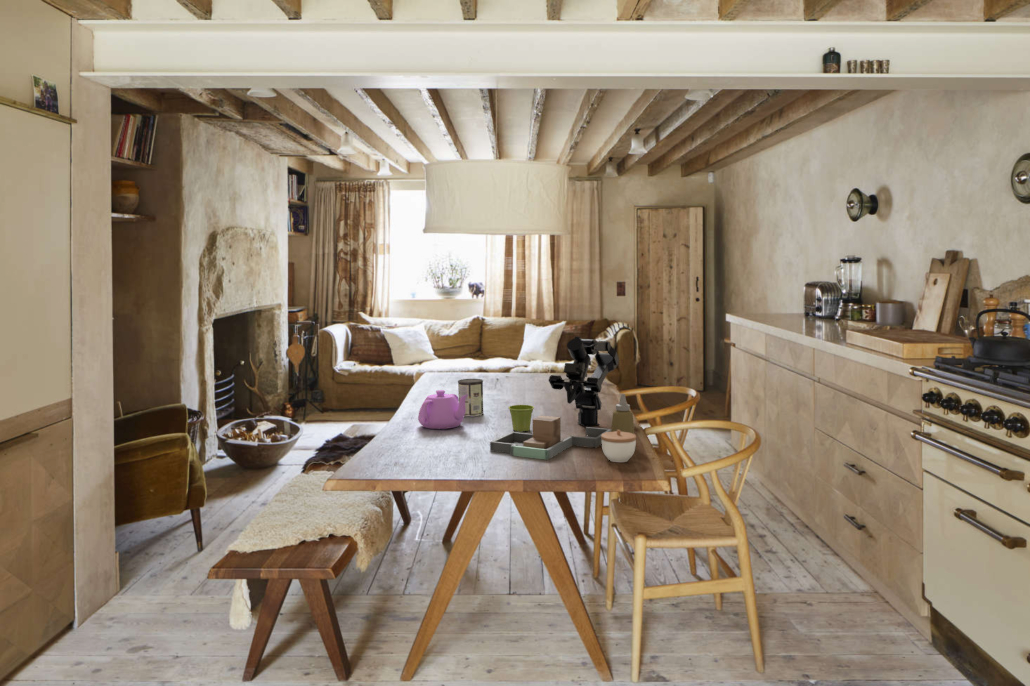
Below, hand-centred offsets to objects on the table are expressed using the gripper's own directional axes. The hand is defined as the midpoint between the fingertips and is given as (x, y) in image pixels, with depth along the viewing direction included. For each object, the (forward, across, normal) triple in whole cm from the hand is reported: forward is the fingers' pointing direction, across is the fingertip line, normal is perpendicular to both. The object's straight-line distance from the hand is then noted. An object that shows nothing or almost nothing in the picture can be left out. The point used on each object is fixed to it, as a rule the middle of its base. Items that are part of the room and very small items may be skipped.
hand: (568, 402), depth 248 cm
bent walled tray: (+19, 0, -2) cm, 19 cm away
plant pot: (+8, -19, +9) cm, 23 cm away
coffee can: (-4, -51, +22) cm, 55 cm away
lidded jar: (+25, +26, -8) cm, 37 cm away
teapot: (+13, -47, +4) cm, 49 cm away
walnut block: (+24, 0, -8) cm, 26 cm away
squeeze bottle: (+15, +23, +2) cm, 27 cm away
